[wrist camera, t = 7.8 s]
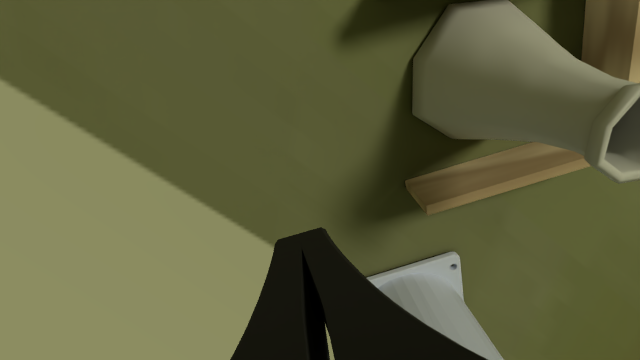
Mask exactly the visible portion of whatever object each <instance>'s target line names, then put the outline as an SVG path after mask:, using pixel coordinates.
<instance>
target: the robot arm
mask: <svg viewBox="0 0 640 360" xmlns="http://www.w3.org/2000/svg"><path fill="white" fill-rule="evenodd" d="M452 264H454V265H453V266H451V265H452ZM325 324H326V327H327V330H328V332H329V336H330V339H331V344H332V349H333V353H334V358H335V360H504V359H503V358H502V356H501V355H500V353H499V352H498V351H497V349H496V348H495V346H494V345H493V343H492V342H491V340H490V339H489V338H488V336H487V335H486V333H485V332H484V330H483V329H482V327H481V326H480V325H479V323H478V322H477V320H476V319H475V317H474V316H473V314H472V313H471V312H470V310H469V309H468V307H467V306H466V304H465V303H464V299H463V288H462V276H461V265H460V258H459V256H458V254H457V253H455V252H448V253H445V254H442V255H439V256H435V257H432V258H429V259H426V260H422V261H419V262H416V263H413V264H409V265H406V266H403V267H400V268H396V269H393V270H390V271H387V272H383V273H380V274H377V275H374V276H370V277H367V278H366V277H365V276H364V275H363V274H362V273H360V272H359V271H358V269H357V268H356V267H355V266H354V265H353V264H352V263H351V262H350V261H349V260H348V259H347V258H346V257H345V256H344V255H343V254H342V252H341V251H340V250H339V249H338V247H337V246H336V245H335V244H334V242H333V241H332V240H331V238H330V237H329V235H328V233H327V231H326V230H325V229H323V228H321V227H320V228H317V229H313V230H310V231H306V232H303V233H299V234H296V235H293V236H289V237H286V238H282V239H279V240H277V242H276V244H275V247H274V252H273V256H272V260H271V264H270V267H269V271H268V274H267V277H266V280H265V283H264V286H263V288H262V291H261V294H260V297H259V300H258V302H257V304H256V307H255V309H254V311H253V314H252V316H251V319H250V321H249V323H248V326H247V328H246V330H245V332H244V334H243V336H242V338H241V340H240V342H239V344H238V346H237V348H236V350H235V352H234V354H233V356H232V357H231V359H230V360H330V358H329V350H328V343H327V336H326V329H325Z"/></svg>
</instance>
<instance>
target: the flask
mask: <svg viewBox="0 0 640 360" xmlns="http://www.w3.org/2000/svg"><path fill="white" fill-rule="evenodd" d="M412 115H414V116H416V117H417V118H419V119H420V120H422V121H424V122H425V123H427V124H429V125H430V126H432V127H433V128H435V129H437V130H438V131H440V132H441V133H443V134H445V135H446V136H448V137H449V138H451V139H496V140H513V141H530V142H539V143H543V144H547V145H551V146H555V147H559V148H563V149H567V150H571V151H575V152H577V153H579V154H581V155H583V156H584V159H585V161H587V162H588V163H589V164H590V165H591V166H593V167H594V168H596V169H597V170H598V171H600V172H601V173H603V174H604V175H605V176H607V177H608V178H610V179H611V180H612V181H614V182H617V183H625V182H631V181H637V180H640V83H635V82H631V81H627V80H623V79H619V78H615V77H612V76H610V75H608V74H606V73H604V72H602V71H600V70H598V69H596V68H594V67H592V66H590V65H588V64H586V63H584V62H582V61H580V60H578V59H576V58H575V57H574V56H573V55H571V54H570V53H569V52H568V51H566V50H565V49H564V48H563V47H562V46H560V45H559V44H558V43H557V42H556V41H555V40H554V39H553V38H551V37H550V36H549V35H548V34H547V33H546V32H545V31H543V30H542V29H541V28H540V27H539V26H538V25H537V24H535V23H534V22H533V21H532V20H531V19H530V18H528V17H527V16H526V15H525V14H524V13H523V12H521V11H520V10H519V9H518V8H517V7H516V6H514V5H513V4H512V3H511V2H510V1H508V0H483V1H474V2H465V3H457V4H449V5H448V6H447V8H446V9H445V11H444V13H443V14H442V16H441V17H440V19H439V20H438V22H437V23H436V25H435V26H434V28H433V29H432V31H431V32H430V34H429V35H428V37H427V38H426V40H425V41H424V43H423V45H422V46H421V48H420V49H419V51H418V52H417V54H416V55H415V57H414V58H413V99H412Z"/></svg>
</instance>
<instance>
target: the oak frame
mask: <svg viewBox="0 0 640 360" xmlns="http://www.w3.org/2000/svg"><path fill="white" fill-rule="evenodd" d="M581 61H582V62H584V63H586V64H588V65H590V66H592V67H594V68H596V69H598V70H600V71H602V72H604V73H606V74H608V75H610V76H612V77H615V78H619V79H623V80H627V81H631V82H635V83H639V82H640V0H586V6H585V19H584V32H583V45H582V58H581ZM589 166H591V165H590V164H589V163H588V162H587V161H585V159H584V156H583V155H581V154H579V153H577V152H575V151H571V150H567V149H563V148H559V147H555V146H551V145H547V144H543V143H539V142H532V143H528V144H525V145H522V146H518V147H515V148H512V149H508V150H505V151H502V152H498V153H495V154H492V155H488V156H485V157H481V158H478V159H475V160H471V161H468V162H465V163H461V164H458V165H455V166H451V167H448V168H445V169H441V170H438V171H435V172H431V173H428V174H425V175H421V176H418V177H415V178H411V179H408V180H405V183H406V189H407V190H408V192H409V193H410V194H411V195H412V197H413V198H414V199H415V200H416V202H417V203H418V204H419V205H420V207H421V208H422V209H423V211H424V212H425V213H426V214H427V215H431V214H434V213H437V212H441V211H444V210H447V209H450V208H454V207H457V206H460V205H464V204H467V203H470V202H473V201H477V200H480V199H483V198H487V197H490V196H493V195H496V194H500V193H503V192H506V191H510V190H513V189H516V188H520V187H523V186H526V185H529V184H533V183H536V182H539V181H543V180H546V179H549V178H552V177H556V176H559V175H562V174H566V173H569V172H572V171H576V170H579V169H582V168H585V167H589Z"/></svg>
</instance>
